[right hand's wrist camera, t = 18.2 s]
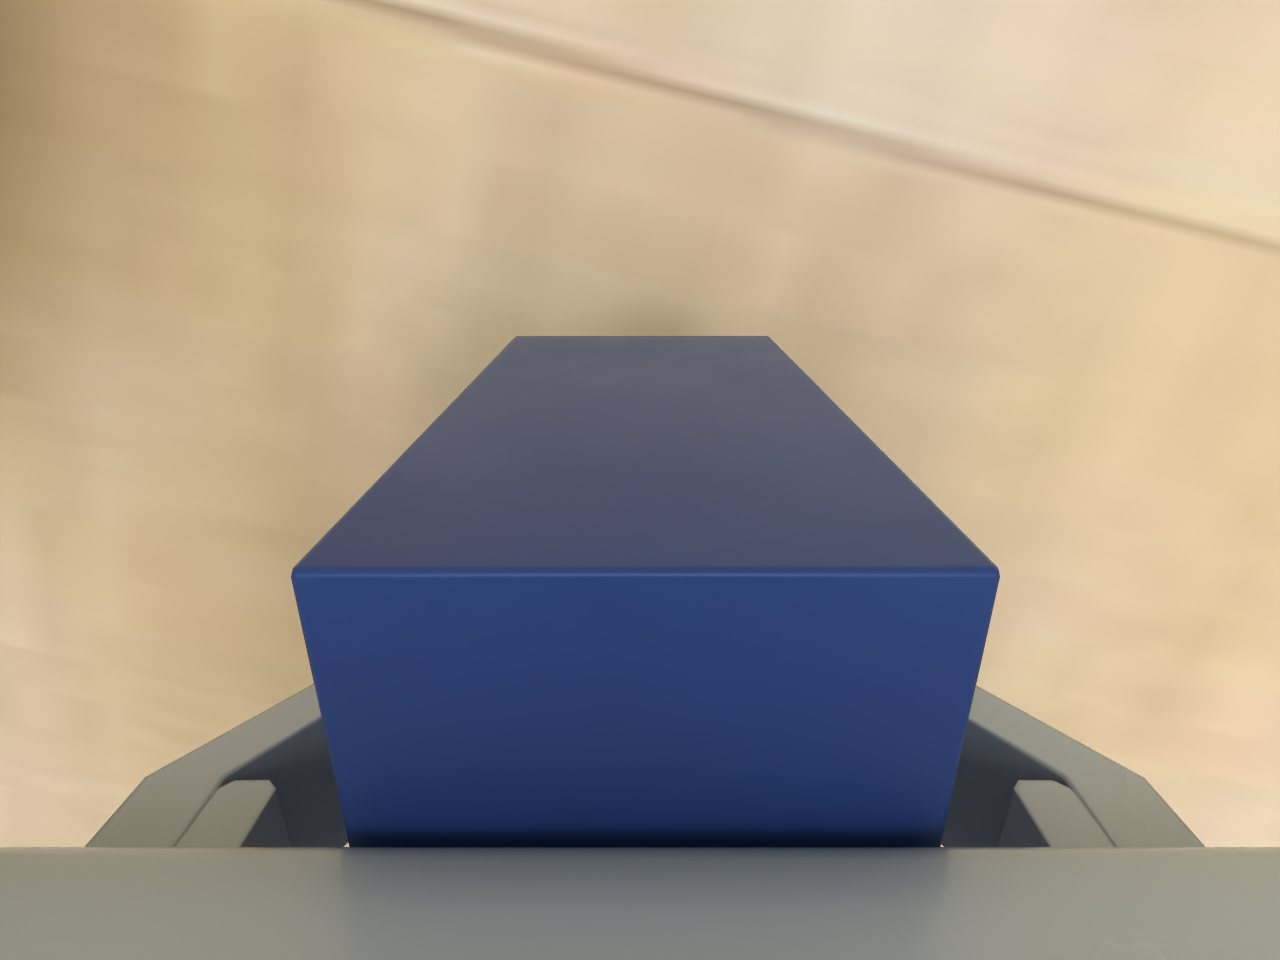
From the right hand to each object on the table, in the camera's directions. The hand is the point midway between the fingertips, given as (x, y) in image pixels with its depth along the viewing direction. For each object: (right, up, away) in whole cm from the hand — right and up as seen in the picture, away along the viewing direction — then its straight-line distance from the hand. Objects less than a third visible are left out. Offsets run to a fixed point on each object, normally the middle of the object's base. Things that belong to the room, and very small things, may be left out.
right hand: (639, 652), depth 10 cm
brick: (0, +2, +4) cm, 5 cm away
